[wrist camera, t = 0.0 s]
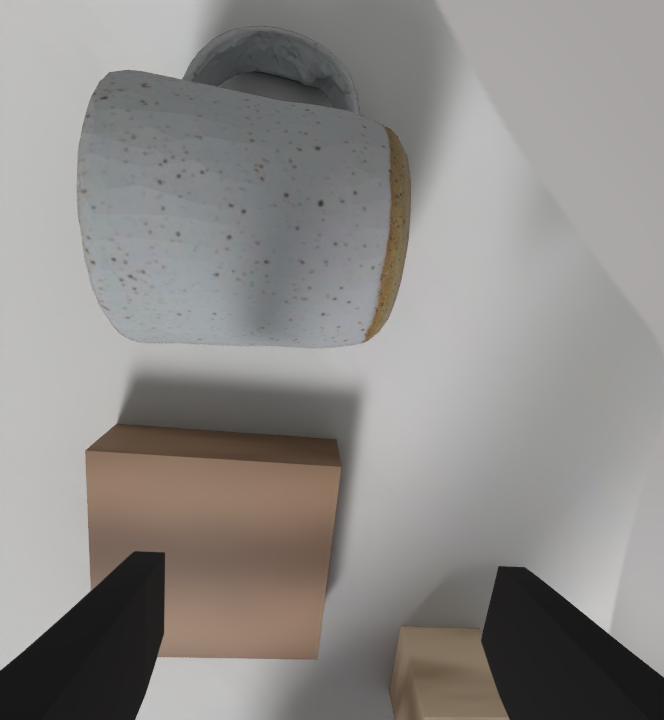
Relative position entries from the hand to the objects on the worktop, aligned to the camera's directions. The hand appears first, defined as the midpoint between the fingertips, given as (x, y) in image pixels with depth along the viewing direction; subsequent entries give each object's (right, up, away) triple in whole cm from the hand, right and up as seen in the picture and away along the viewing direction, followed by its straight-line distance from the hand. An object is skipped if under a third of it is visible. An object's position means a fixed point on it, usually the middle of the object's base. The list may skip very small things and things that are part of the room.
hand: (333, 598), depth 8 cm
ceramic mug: (-3, +12, +8) cm, 14 cm away
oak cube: (+6, -12, +14) cm, 19 cm away
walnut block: (-5, -3, +11) cm, 13 cm away
